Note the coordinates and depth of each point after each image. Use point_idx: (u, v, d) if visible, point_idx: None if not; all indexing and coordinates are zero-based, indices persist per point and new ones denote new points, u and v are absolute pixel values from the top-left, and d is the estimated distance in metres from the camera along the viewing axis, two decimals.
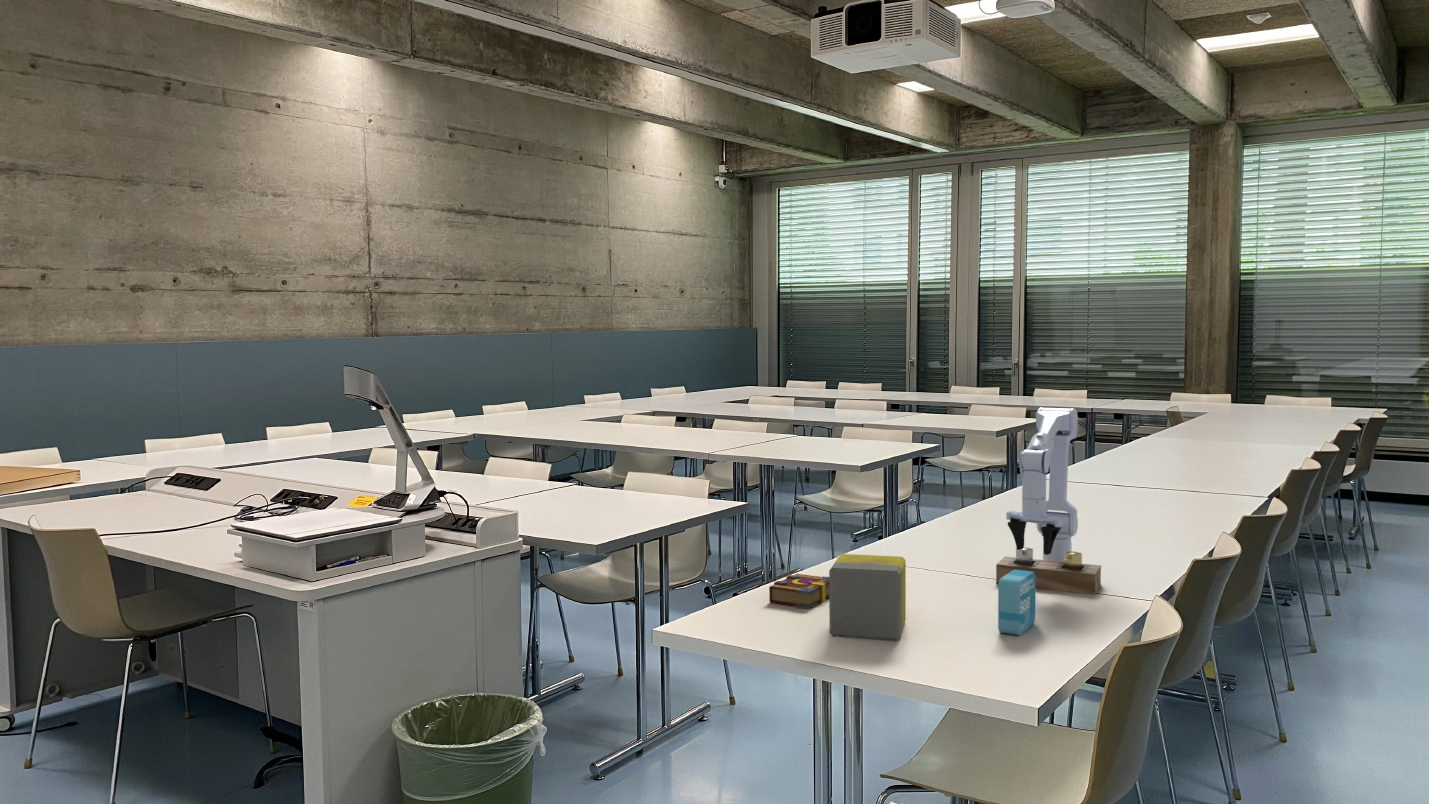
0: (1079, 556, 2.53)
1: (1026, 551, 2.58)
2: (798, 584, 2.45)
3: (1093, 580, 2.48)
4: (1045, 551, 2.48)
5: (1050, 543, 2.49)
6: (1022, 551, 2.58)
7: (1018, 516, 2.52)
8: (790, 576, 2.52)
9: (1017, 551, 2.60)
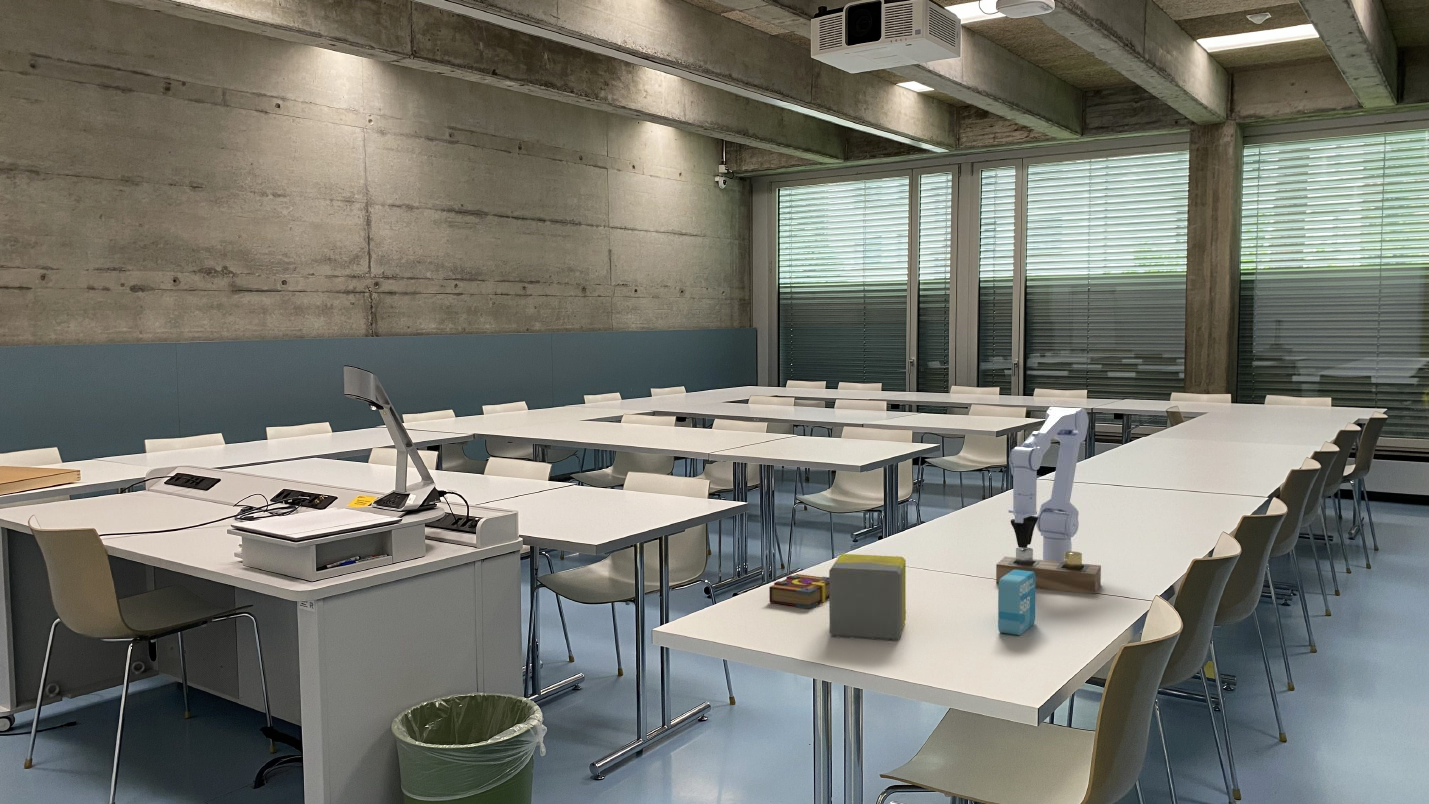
0: (1079, 556, 2.53)
1: (1026, 551, 2.58)
2: (798, 584, 2.45)
3: (1093, 580, 2.48)
4: (1017, 543, 2.59)
5: (1024, 537, 2.58)
6: (1022, 551, 2.58)
7: None
8: (790, 576, 2.52)
9: (1017, 551, 2.60)
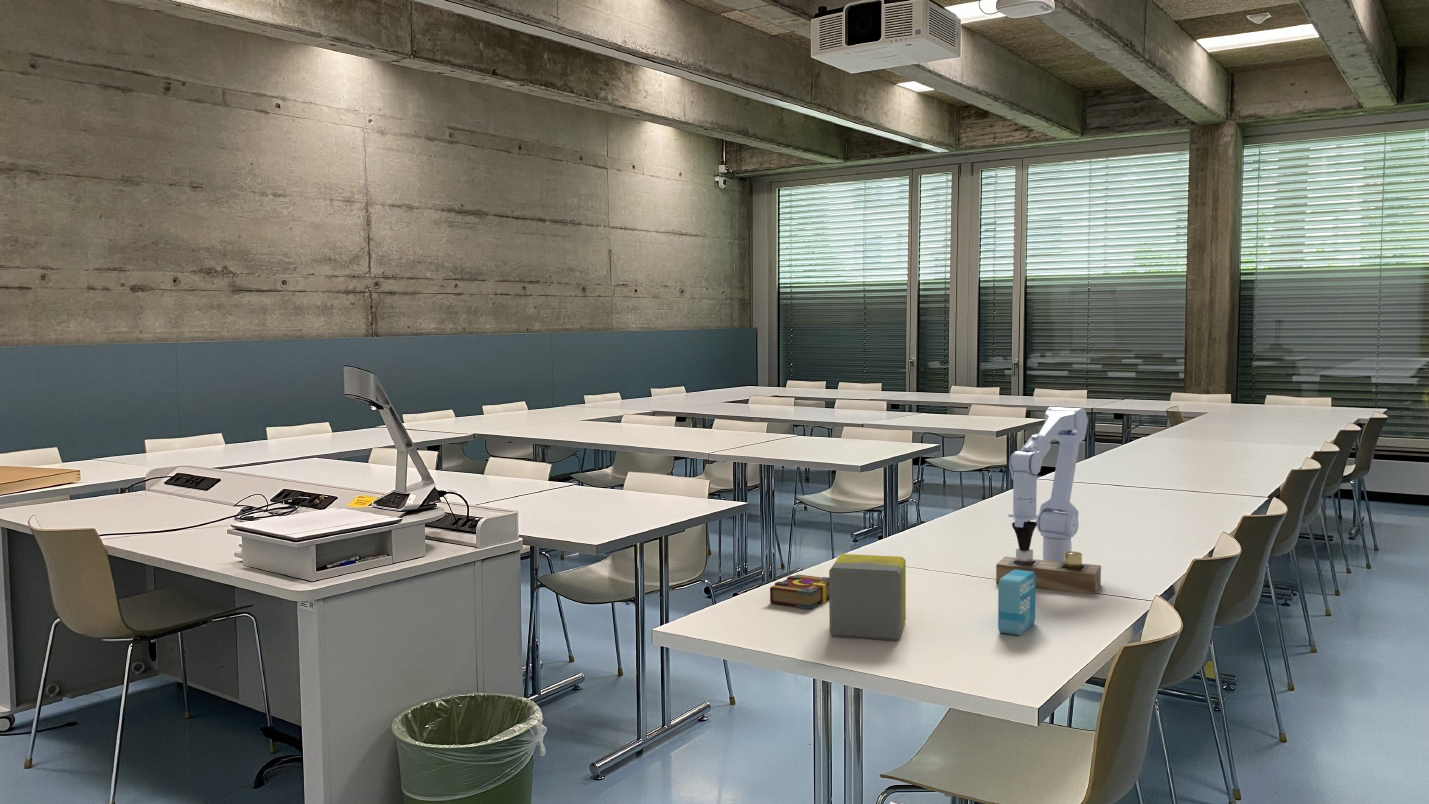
0: (1079, 556, 2.53)
1: (1026, 552, 2.58)
2: (799, 585, 2.44)
3: (1093, 580, 2.48)
4: (1019, 546, 2.60)
5: (1025, 540, 2.59)
6: (1022, 552, 2.59)
7: None
8: (790, 577, 2.52)
9: (1017, 552, 2.60)
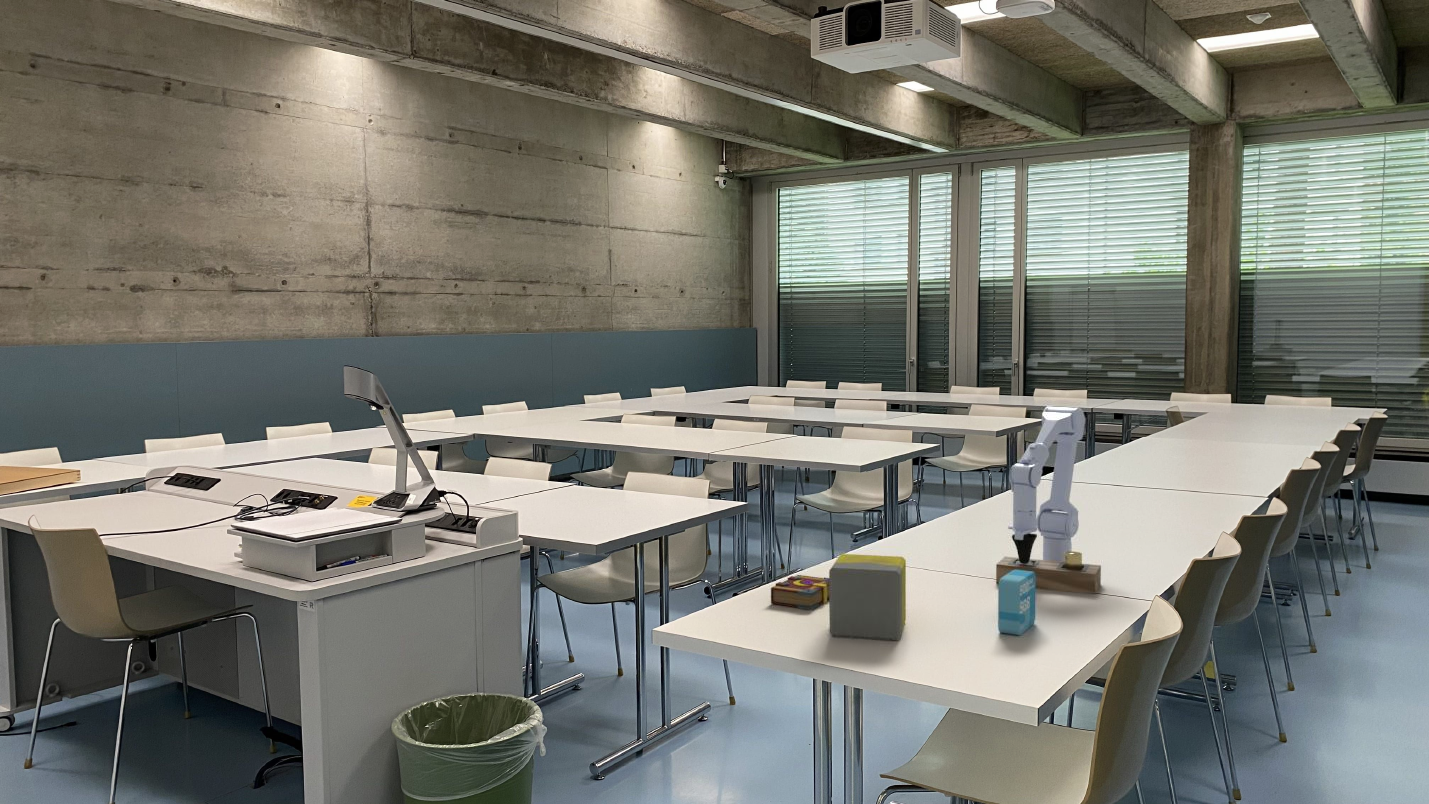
0: (1079, 556, 2.53)
1: None
2: (800, 585, 2.44)
3: (1093, 580, 2.48)
4: (1019, 558, 2.61)
5: (1025, 552, 2.59)
6: None
7: None
8: (791, 577, 2.51)
9: None
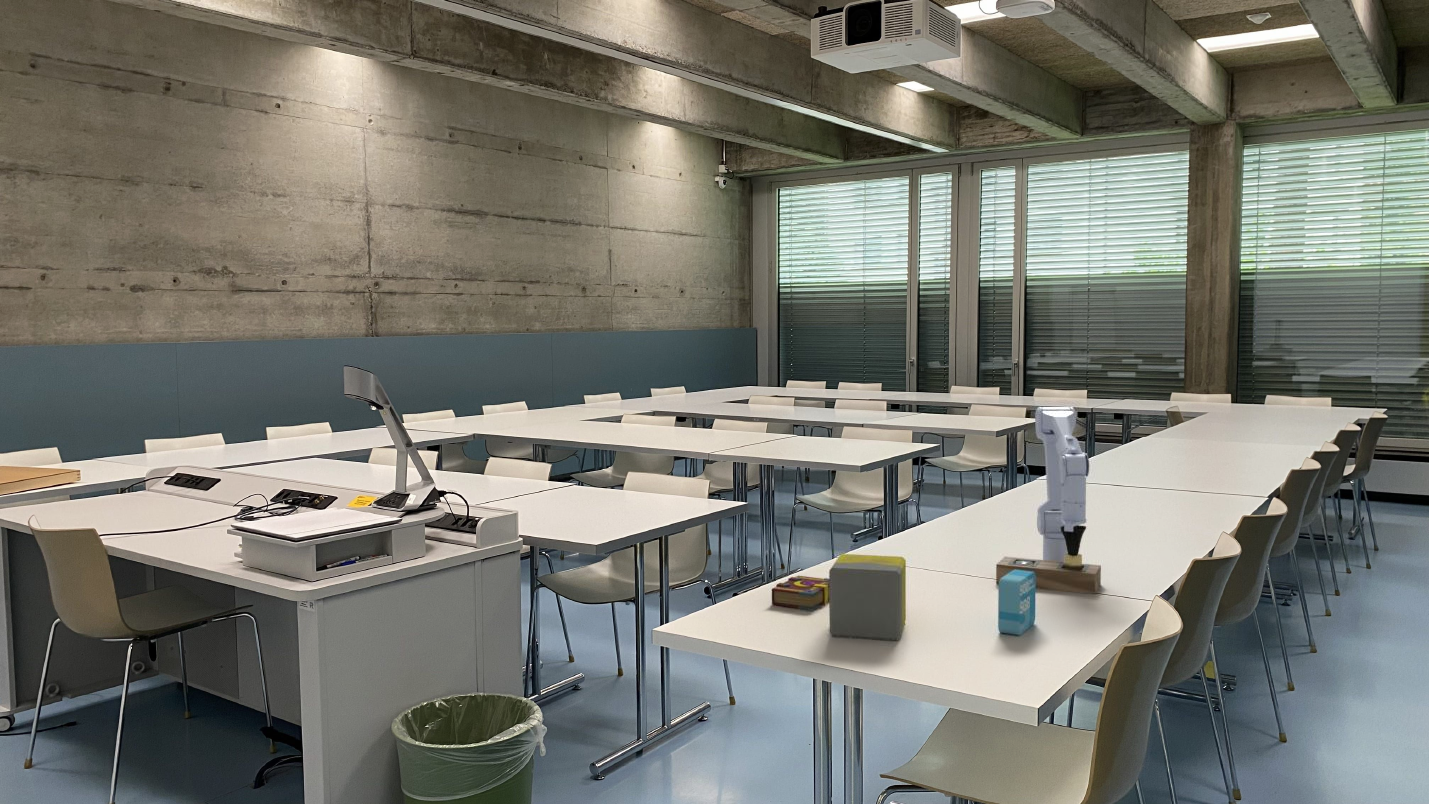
0: (1079, 558, 2.53)
1: None
2: (800, 586, 2.43)
3: (1093, 580, 2.48)
4: (1067, 551, 2.55)
5: (1074, 545, 2.53)
6: None
7: None
8: (792, 578, 2.51)
9: None
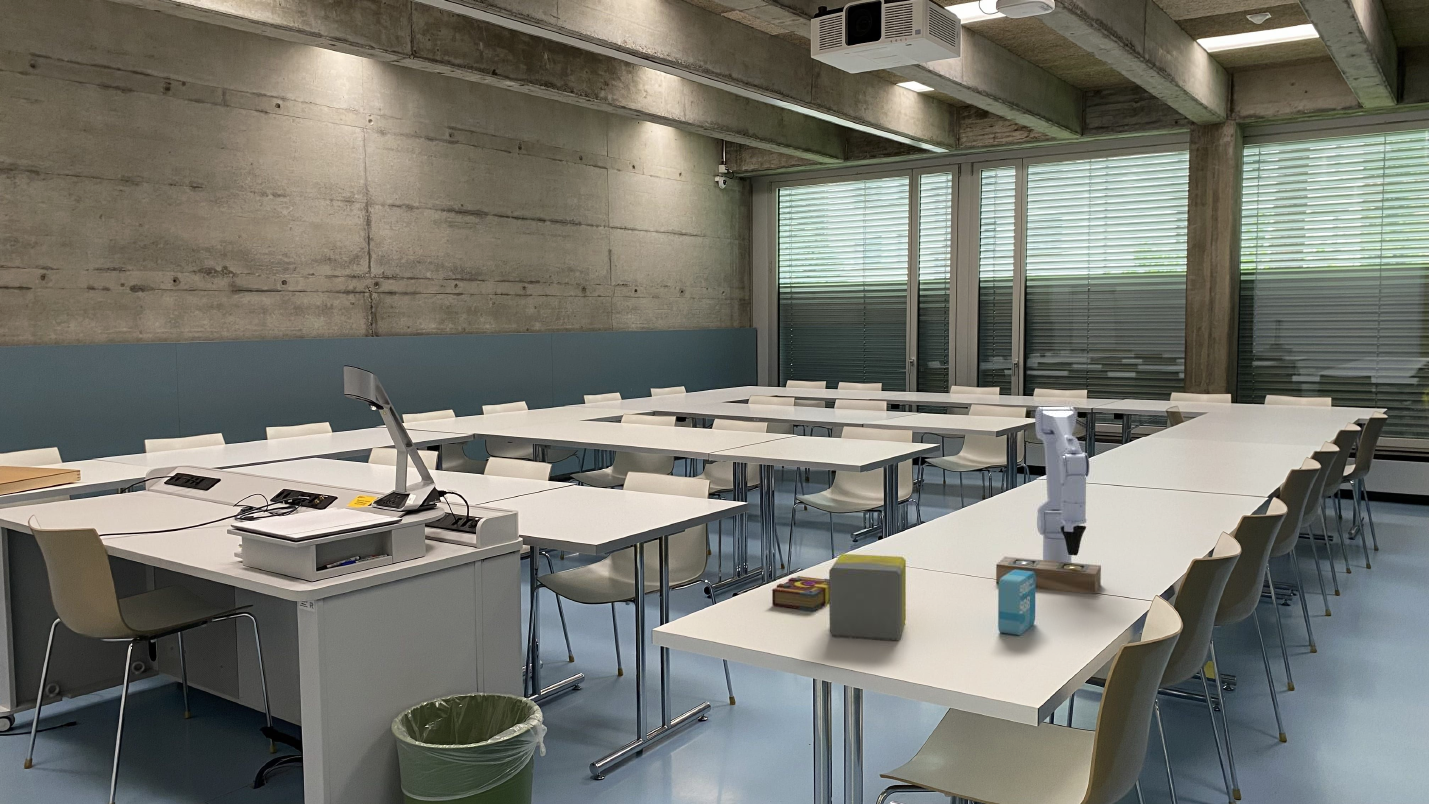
0: None
1: None
2: (801, 587, 2.43)
3: (1093, 580, 2.48)
4: (1067, 551, 2.55)
5: (1074, 545, 2.53)
6: None
7: None
8: (792, 578, 2.50)
9: None
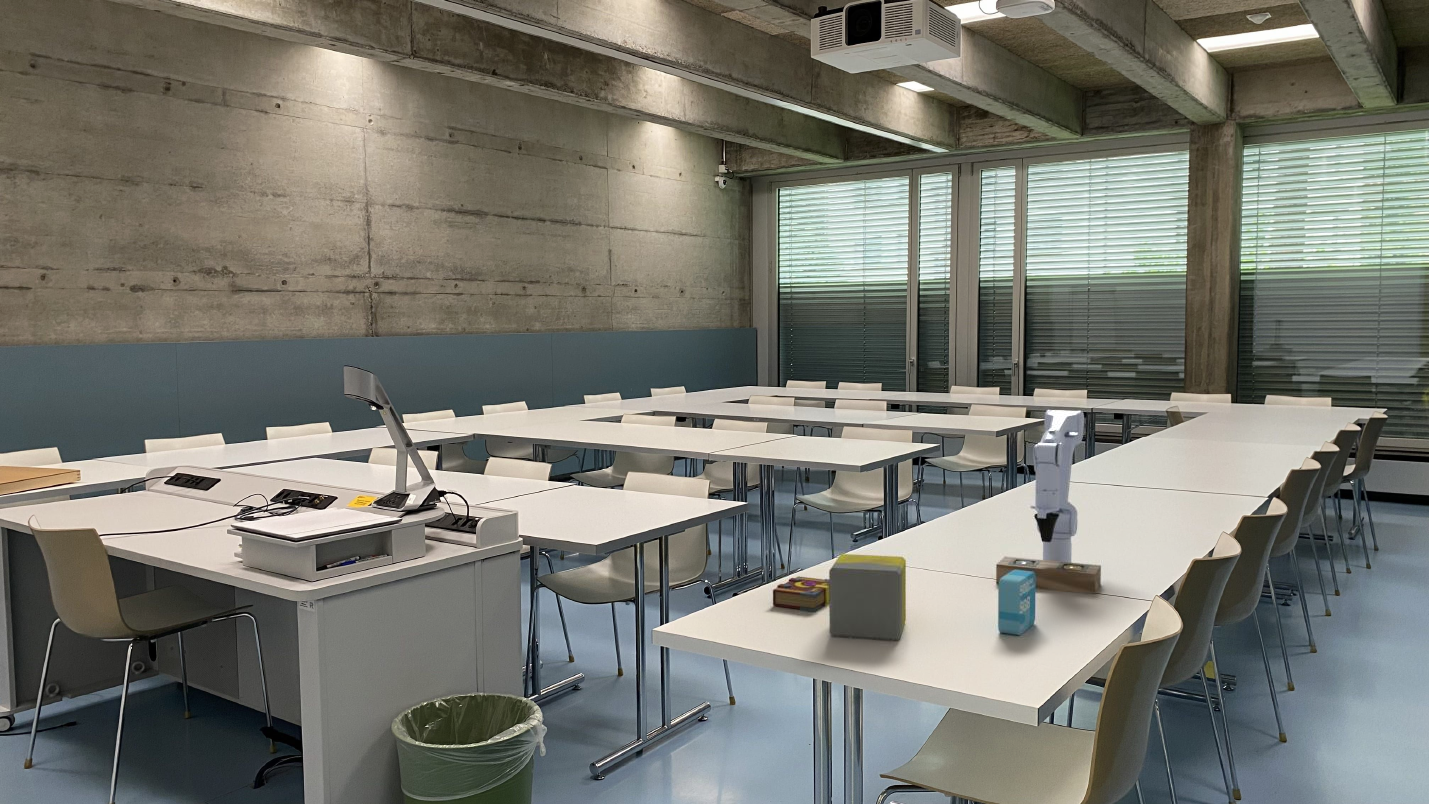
0: None
1: None
2: (802, 587, 2.42)
3: (1093, 580, 2.48)
4: (1041, 538, 2.60)
5: (1047, 532, 2.59)
6: None
7: None
8: (792, 579, 2.50)
9: None
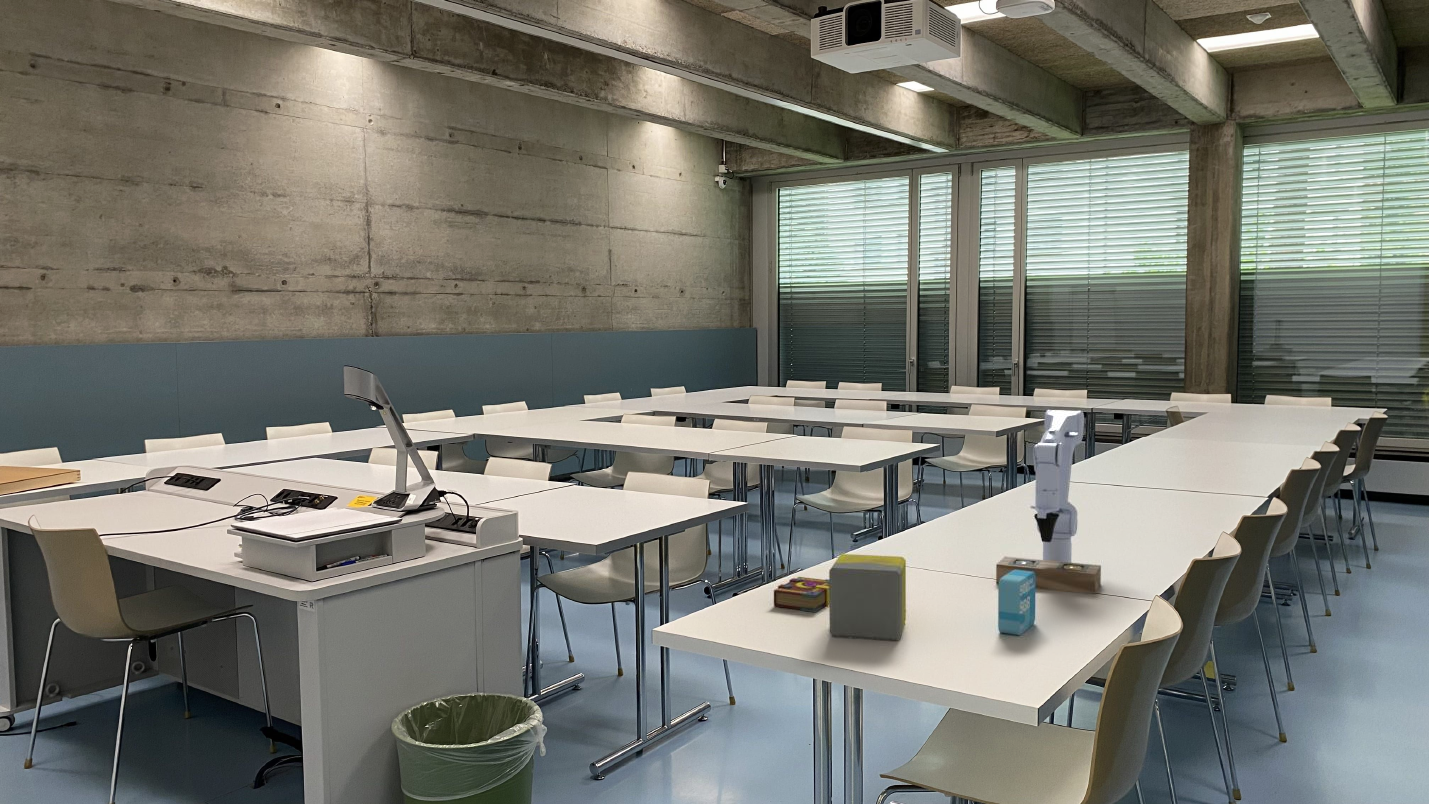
0: None
1: None
2: (802, 587, 2.42)
3: (1093, 580, 2.48)
4: (1041, 538, 2.60)
5: (1047, 532, 2.59)
6: None
7: None
8: (793, 579, 2.49)
9: None
